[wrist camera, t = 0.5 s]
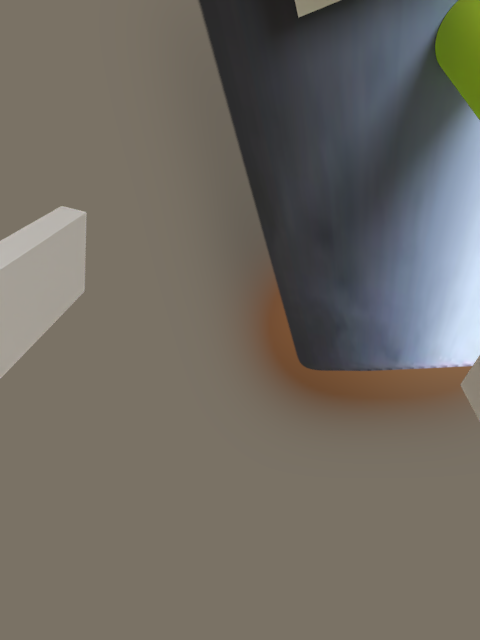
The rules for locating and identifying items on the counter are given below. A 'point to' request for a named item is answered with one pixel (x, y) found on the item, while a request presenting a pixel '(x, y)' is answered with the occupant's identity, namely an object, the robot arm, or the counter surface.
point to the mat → (311, 5)
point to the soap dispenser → (462, 50)
